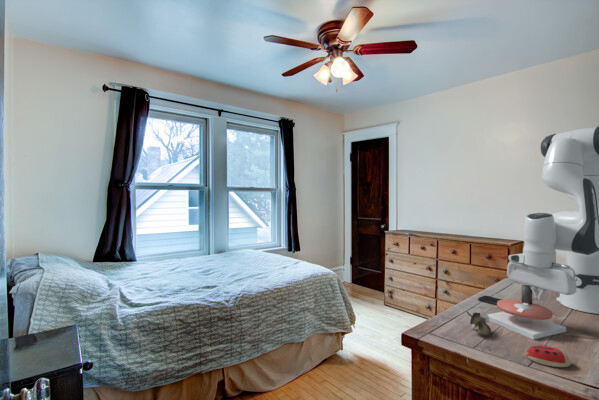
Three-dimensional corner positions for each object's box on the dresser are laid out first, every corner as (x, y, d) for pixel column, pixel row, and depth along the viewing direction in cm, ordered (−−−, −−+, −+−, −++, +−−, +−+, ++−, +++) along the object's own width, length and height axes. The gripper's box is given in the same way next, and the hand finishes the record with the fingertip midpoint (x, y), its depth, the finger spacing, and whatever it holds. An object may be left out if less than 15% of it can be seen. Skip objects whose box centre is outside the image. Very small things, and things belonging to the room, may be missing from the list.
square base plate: (515, 313, 109) (515, 301, 109) (565, 331, 94) (566, 318, 94) (484, 319, 104) (484, 306, 104) (533, 339, 89) (533, 324, 89)
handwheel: (548, 324, 88) (548, 300, 88) (491, 310, 99) (491, 289, 99) (555, 311, 98) (555, 290, 98) (502, 300, 109) (503, 281, 109)
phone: (485, 295, 128) (526, 305, 115) (485, 297, 128) (526, 308, 115) (476, 298, 123) (518, 309, 111) (476, 301, 123) (518, 312, 111)
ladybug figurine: (578, 371, 73) (578, 357, 73) (534, 366, 75) (534, 353, 74) (559, 356, 79) (559, 344, 79) (519, 353, 81) (519, 340, 81)
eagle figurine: (459, 320, 100) (464, 325, 92) (471, 303, 100) (477, 307, 91) (480, 336, 97) (487, 343, 89) (493, 319, 97) (501, 324, 88)
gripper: (581, 266, 91) (581, 309, 91) (516, 254, 110) (516, 290, 110) (567, 267, 89) (567, 311, 89) (504, 254, 109) (503, 291, 109)
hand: (538, 299), depth 100 cm, fingers closed
